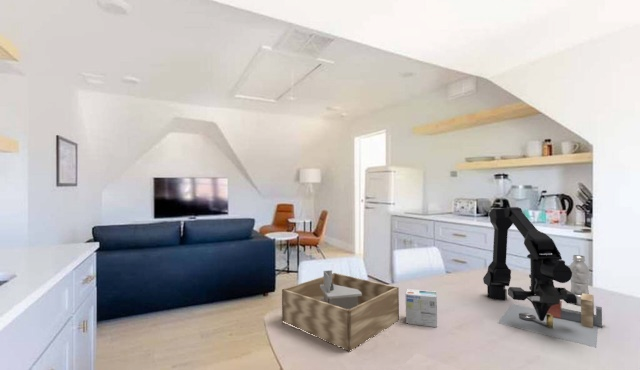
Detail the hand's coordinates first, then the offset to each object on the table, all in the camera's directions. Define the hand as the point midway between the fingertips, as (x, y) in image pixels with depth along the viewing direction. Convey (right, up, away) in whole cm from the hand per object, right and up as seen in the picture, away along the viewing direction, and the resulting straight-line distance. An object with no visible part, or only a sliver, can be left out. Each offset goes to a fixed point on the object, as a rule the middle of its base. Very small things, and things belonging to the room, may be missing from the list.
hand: (541, 320), depth 106 cm
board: (+5, -3, +4) cm, 7 cm away
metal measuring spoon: (+1, -2, +4) cm, 5 cm away
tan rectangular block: (+18, -2, +3) cm, 18 cm away
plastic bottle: (+30, -3, +21) cm, 37 cm away
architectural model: (-68, -5, +7) cm, 68 cm away
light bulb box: (-38, -4, +7) cm, 39 cm away
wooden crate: (-67, -4, +8) cm, 68 cm away
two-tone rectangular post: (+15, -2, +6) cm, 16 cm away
